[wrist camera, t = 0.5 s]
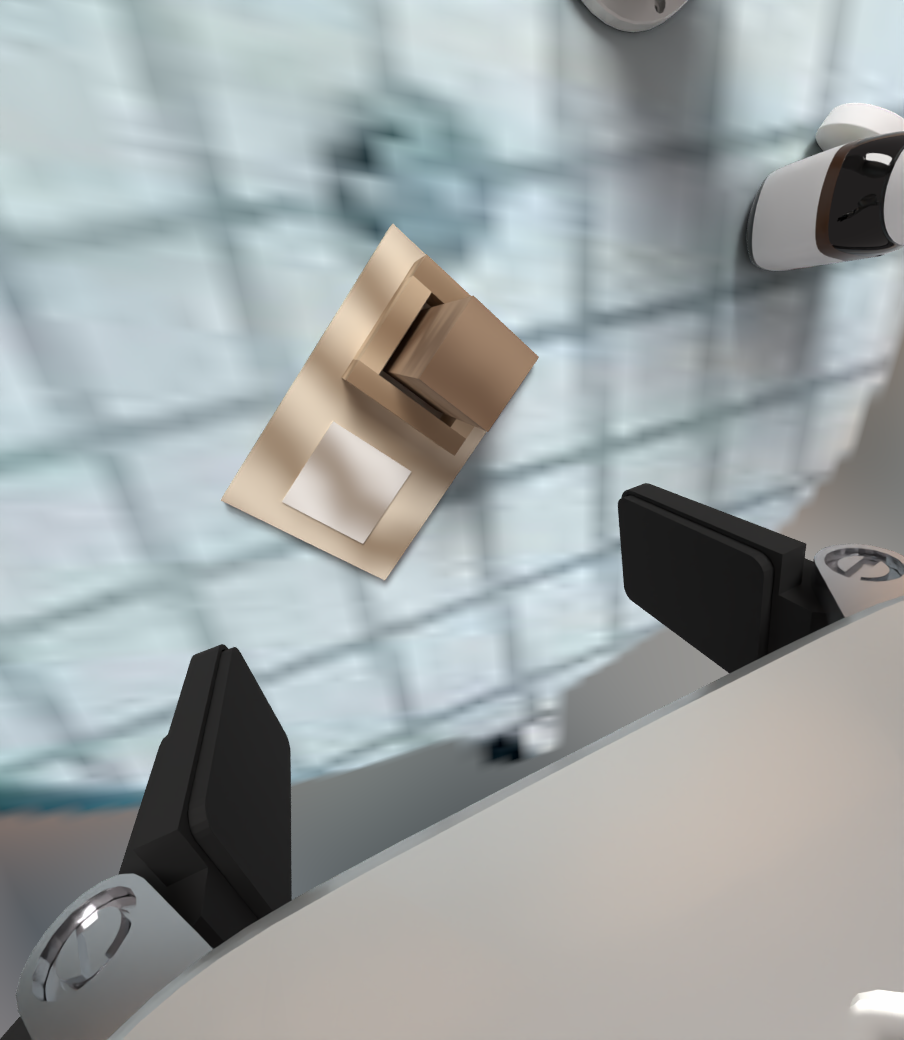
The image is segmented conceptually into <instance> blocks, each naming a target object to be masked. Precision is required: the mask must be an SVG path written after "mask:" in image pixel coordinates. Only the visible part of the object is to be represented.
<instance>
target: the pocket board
mask: <svg viewBox="0 0 904 1040" xmlns="http://www.w3.org/2000/svg"><path fill="white" fill-rule="evenodd" d="M466 297H470V295H469V294H468V293H467V292H466V291H465V290H464V289H463V288H462V287H461V286H460V285H459V284H458V283H457V282H455V281H454V280H453V279H452V278H451V277H450V276H449V275H448V274H447V273H446V272H445V271H444V270H443V269H442V268H441V267H439V266H438V265H437V264H436V263H435V262H434V261H433V260H432V259H431V258H430V257H429V256H428V255H427V254H425V253H424V252H422V251H421V250H420V249H419V248H418V247H417V246H416V245H415V244H414V243H413V242H412V241H411V240H410V239H409V238H408V237H406V236H405V235H404V234H403V233H402V232H401V231H400V230H399V229H398V228H397V227H396V226H395V225H394V224H392V225H391V226H390V228H389V229H388V231H387V232H386V234H385V236H384V237H383V239H382V240H381V242H380V244H379V245H378V247H377V249H376V250H375V252H374V253H373V255H372V257H371V258H370V260H369V261H368V263H367V265H366V266H365V268H364V269H363V271H362V273H361V274H360V276H359V278H358V279H357V281H356V282H355V284H354V286H353V287H352V289H351V290H350V292H349V294H348V295H347V297H346V298H345V300H344V302H343V303H342V305H341V307H340V308H339V310H338V311H337V313H336V315H335V316H334V318H333V319H332V321H331V323H330V324H329V326H328V327H327V329H326V331H325V332H324V334H323V336H322V337H321V339H320V340H319V342H318V344H317V345H316V347H315V348H314V350H313V352H312V353H311V355H310V356H309V358H308V360H307V361H306V363H305V365H304V366H303V368H302V369H301V371H300V373H299V374H298V376H297V377H296V379H295V381H294V382H293V384H292V385H291V387H290V389H289V390H288V392H287V393H286V395H285V397H284V398H283V400H282V402H281V403H280V405H279V406H278V408H277V410H276V411H275V413H274V414H273V416H272V418H271V419H270V421H269V422H268V424H267V426H266V427H265V429H264V431H263V432H262V434H261V435H260V437H259V439H258V440H257V442H256V443H255V445H254V447H253V448H252V450H251V451H250V453H249V455H248V456H247V458H246V460H245V461H244V463H243V464H242V466H241V468H240V469H239V471H238V472H237V474H236V476H235V477H234V479H233V480H232V482H231V484H230V485H229V487H228V489H227V490H226V492H225V493H224V495H223V497H222V499H221V501H223V502H225V503H227V504H229V505H231V506H233V507H235V508H238V509H240V510H242V511H244V512H246V513H248V514H250V515H252V516H254V517H256V518H258V519H260V520H262V521H264V522H266V523H268V524H270V525H272V526H274V527H276V528H278V529H280V530H283V531H285V532H287V533H289V534H291V535H293V536H295V537H297V538H299V539H301V540H303V541H305V542H307V543H309V544H311V545H313V546H315V547H317V548H319V549H321V550H323V551H326V552H328V553H330V554H332V555H334V556H336V557H338V558H340V559H342V560H344V561H346V562H348V563H350V564H352V565H354V566H356V567H358V568H360V569H362V570H364V571H366V572H368V573H371V574H373V575H375V576H377V577H379V578H381V579H383V580H386V578H387V577H388V575H389V574H390V572H391V571H392V569H393V568H394V566H395V565H396V564H397V562H398V561H399V559H400V558H401V556H402V555H403V553H404V552H405V550H406V549H407V547H408V546H409V545H410V543H411V542H412V540H413V539H414V537H415V536H416V534H417V533H418V531H419V530H420V528H421V527H422V525H423V524H424V523H425V521H426V520H427V518H428V517H429V515H430V514H431V512H432V511H433V509H434V508H435V506H436V505H437V504H438V502H439V501H440V499H441V498H442V496H443V495H444V493H445V492H446V490H447V489H448V487H449V486H450V484H451V483H452V482H453V480H454V479H455V477H456V476H457V474H458V473H459V471H460V470H461V468H462V467H463V465H464V464H465V463H466V461H467V460H468V458H469V457H470V455H471V454H472V452H473V451H474V449H475V448H476V446H477V445H478V443H479V442H480V441H481V439H482V438H483V436H484V435H485V433H486V432H487V431H485V430H482V429H480V428H477V427H475V426H473V425H470V424H468V423H465V422H463V421H461V420H458V419H456V418H453V417H451V416H449V415H446V414H444V413H441V412H439V411H437V410H435V409H434V408H433V407H431V406H430V405H428V404H427V403H426V402H424V401H423V400H422V399H420V398H419V397H418V396H416V395H415V394H414V393H412V392H411V391H410V390H408V389H407V388H406V387H404V386H403V385H402V384H400V383H399V382H398V381H396V380H395V379H394V378H392V377H391V376H390V375H388V374H387V373H385V372H384V371H383V369H384V368H385V366H386V364H387V363H388V361H389V360H390V358H391V357H392V355H393V354H394V352H395V350H396V349H397V347H398V346H399V344H400V343H401V341H402V340H403V338H404V336H405V335H406V333H407V332H408V330H409V329H410V327H411V326H412V324H413V322H414V321H415V319H416V318H417V316H418V315H419V313H420V312H421V310H424V309H427V308H431V307H434V306H438V305H441V304H445V303H449V302H452V301H456V300H459V299H463V298H466Z"/></svg>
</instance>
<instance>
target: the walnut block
mask: <svg viewBox="0 0 904 1040" xmlns="http://www.w3.org/2000/svg"><path fill="white" fill-rule="evenodd" d="M538 358H539V357H538V356H537V355H536V354H535V353H534V352H533V351H532V350H531V349H530V348H529V347H528V346H526V345H525V344H524V343H523V342H522V341H521V340H520V339H519V338H518V337H517V336H516V335H515V334H514V333H513V332H512V331H511V330H509V329H508V328H507V327H506V326H505V325H504V324H503V323H502V322H501V321H500V320H499V319H498V318H497V317H496V316H495V315H493V314H492V313H491V312H490V311H489V310H488V309H487V308H486V307H485V306H484V305H483V304H482V303H481V302H480V301H479V300H478V299H476V298H475V297H474V296H470V297H466V298H463V299H459V300H456V301H452V302H449V303H445V304H441V305H438V306H434V307H431V308H427V309H424V310H421V312H420V313H419V315H418V316H417V318H416V319H415V321H414V322H413V324H412V326H411V327H410V329H409V330H408V332H407V333H406V335H405V336H404V338H403V340H402V341H401V343H400V344H399V346H398V347H397V349H396V350H395V352H394V354H393V355H392V357H391V358H390V360H389V361H388V363H387V364H386V366H385V368H384V369H383V371H384V372H385V373H387V374H388V375H390V376H391V377H392V378H394V379H395V380H396V381H398V382H399V383H400V384H402V385H403V386H404V387H406V388H407V389H408V390H410V391H411V392H412V393H414V394H415V395H416V396H418V397H419V398H420V399H422V400H423V401H424V402H426V403H427V404H428V405H430V406H431V407H433V408H434V409H435V410H437V411H439V412H441V413H444V414H446V415H449V416H451V417H453V418H456V419H458V420H461V421H463V422H465V423H468V424H470V425H473V426H475V427H477V428H480V429H482V430H485V431H487V432H488V431H489V430H490V428H491V427H492V425H493V424H494V422H495V421H496V419H497V418H498V416H499V415H500V413H501V412H502V411H503V409H504V408H505V406H506V405H507V403H508V402H509V400H510V399H511V397H512V396H513V394H514V393H515V392H516V390H517V389H518V387H519V386H520V384H521V383H522V381H523V380H524V378H525V377H526V375H527V374H528V373H529V371H530V370H531V368H532V367H533V365H534V364H535V362H536V361H537V359H538Z"/></svg>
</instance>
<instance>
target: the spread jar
mask: <svg viewBox="0 0 904 1040" xmlns="http://www.w3.org/2000/svg"><path fill="white" fill-rule="evenodd" d="M816 140H817V143H818V145H819V146H820V148H821V149H822V150H823V151H824V152H821V153H818V154H816V155H813V156H810V157H807V158H804V159H802V160H799V161H796V162H794V163H791V164H789V165H786V166H784V167H781V168H779V169H778V170H776V171H774V172H772V173H771V174H770V175H769V176H768V177H767V178H766V179H765V180H764V181H763V183H762V184H761V186H760V188H759V190H758V192H757V194H756V196H755V199H754V202H753V204H752V207H751V211H750V214H749V218H748V223H747V249H748V254H749V257H750V260H751V262H752V263H753V264H754V265H755V266H756V267H758V268H760V269H763V270H767V271H785V270H793V269H800V268H807V267H813V266H820V265H826V264H832V263H839V262H846V261H852V260H859V259H865V258H871V257H878V256H881V255H884V254H887V253H890V252H893V251H895V250H898V249H900V248H902V247H903V246H904V119H903V118H902V117H900V116H899V115H897V114H896V113H894V112H891V111H889V110H887V109H884V108H882V107H878V106H875V105H871V104H864V103H848V104H843V105H840V106H838V107H836V108H834V109H833V110H832V111H831V112H830V113H829V115H828V116H827V118H826V119H825V120H824V122H823V123H822V125H821V126H820V127H819V129H818V130H817V133H816Z"/></svg>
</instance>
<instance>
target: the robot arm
mask: <svg viewBox="0 0 904 1040" xmlns="http://www.w3.org/2000/svg"><path fill="white" fill-rule="evenodd" d="M581 1H582V2H583V3H584V4H585V5H586V7H587V8H588V9H589V10H590V11H591V13H593V14H594V15H595V16H596V17H598V18H599V19H600V20H601V21H603V22H604V23H605V24H607V25H609V26H611V27H614V28H616V29H618V30H621V31H628V32H640V31H646V30H650V29H652V28H654V27H656V26H658V25H660V24H662V23H664V22H665V21H666V20H667V19H669V18H670V17H671V16H672V15H674V14H675V13H676V12H677V11H678V10H679V9H680V8H681V7H682V6H683V5H684V4H685V3H686V2H687V1H688V0H581ZM618 514H619V527H620V540H621V553H622V566H623V579H624V589H625V592H626V594H627V596H628V597H629V598H630V600H632V601H633V602H634V603H635V604H637V605H638V606H639V607H641V608H642V609H643V610H645V611H646V612H647V613H649V614H650V615H652V616H653V617H654V618H656V619H657V620H658V621H660V622H661V623H662V624H664V625H665V626H666V627H668V628H669V629H670V630H672V631H673V632H675V633H676V634H677V635H679V636H680V637H681V638H683V639H684V640H685V641H687V642H688V643H689V644H691V645H692V646H693V647H695V648H696V649H697V650H699V651H700V652H701V653H703V654H704V655H706V656H707V657H708V658H709V659H711V660H712V661H714V662H715V663H716V664H718V665H719V666H720V667H722V668H723V669H725V670H726V671H727V672H728V673H730V674H728V675H726V676H724V677H722V678H720V679H718V680H716V681H714V682H712V683H710V684H708V685H706V686H704V687H702V688H700V689H698V690H696V691H694V692H692V693H690V694H688V695H686V696H684V697H682V698H680V699H678V700H676V701H674V702H672V703H670V704H668V705H666V706H664V707H662V708H660V709H658V710H656V711H654V712H652V713H650V714H648V715H646V716H645V717H643V718H640V719H639V720H636V721H635V722H633V723H631V724H629V725H627V726H625V727H623V728H621V729H619V730H617V731H615V732H613V733H611V734H609V735H607V736H605V737H603V738H601V739H599V740H597V741H595V742H593V743H591V744H589V745H587V746H586V747H584V748H581V749H579V750H577V751H576V752H574V753H572V754H570V755H568V756H566V757H564V758H562V759H560V760H558V761H556V762H554V763H552V764H550V765H548V766H546V767H544V768H542V769H540V770H538V771H537V772H534V773H532V774H530V775H529V776H527V777H525V778H523V779H521V780H519V781H517V782H515V783H513V784H512V785H509V786H507V787H505V788H503V789H502V790H499V791H498V792H496V793H494V794H492V795H490V796H488V797H486V798H484V799H482V800H480V801H478V802H476V803H474V804H472V805H470V806H468V807H467V808H465V809H463V810H461V811H459V812H457V813H455V814H453V815H451V816H449V817H447V818H445V819H443V820H441V821H439V822H438V823H436V824H434V825H432V826H430V827H428V828H426V829H424V830H422V831H420V832H418V833H416V834H414V835H412V836H410V837H408V838H407V839H405V840H403V841H401V842H399V843H397V844H395V845H393V846H391V847H389V848H388V849H386V850H384V851H382V852H380V853H378V854H376V855H374V856H373V857H371V858H369V859H367V860H365V861H364V862H361V863H360V864H358V865H356V866H354V867H352V868H350V869H348V870H347V871H345V872H343V873H341V874H339V875H337V876H335V877H334V878H332V879H330V880H328V881H326V882H324V883H322V884H320V885H319V886H317V887H315V888H313V889H311V890H309V891H307V892H306V893H304V894H302V895H300V896H298V897H297V898H295V899H293V900H291V764H290V745H289V741H288V738H287V736H286V733H285V732H284V730H283V728H282V726H281V724H280V723H279V721H278V719H277V717H276V715H275V714H274V712H273V710H272V708H271V706H270V705H269V703H268V701H267V699H266V698H265V696H264V694H263V692H262V690H261V689H260V687H259V685H258V683H257V681H256V680H255V678H254V676H253V674H252V672H251V671H250V669H249V667H248V665H247V663H246V662H245V660H244V658H243V656H242V655H241V653H240V651H239V650H238V649H237V648H236V647H233V648H230V649H228V648H227V647H226V646H225V645H223V644H221V645H219V646H216V647H214V648H211V649H208V650H206V651H203V652H200V653H198V654H195V655H193V656H192V658H191V661H190V664H189V668H188V671H187V674H186V677H185V681H184V684H183V687H182V690H181V694H180V697H179V700H178V703H177V707H176V710H175V713H174V717H173V720H172V723H171V726H170V730H169V733H168V735H167V736H166V737H165V738H164V739H163V740H162V742H161V744H160V746H159V749H158V752H157V755H156V759H155V762H154V765H153V768H152V771H151V774H150V777H149V781H148V784H147V787H146V790H145V793H144V796H143V799H142V802H141V806H140V809H139V812H138V815H137V818H136V821H135V824H134V828H133V831H132V834H131V837H130V840H129V843H128V846H127V850H126V853H125V856H124V859H123V862H122V865H121V868H120V871H119V874H118V875H117V876H114V877H112V878H109V879H107V880H104V881H102V882H100V883H99V884H97V885H96V886H94V887H93V888H91V889H89V890H88V891H86V892H85V893H84V894H83V895H81V896H80V897H79V898H78V899H77V900H75V901H74V902H73V903H72V904H71V905H70V906H69V907H67V908H66V909H65V910H64V911H63V913H62V914H61V915H60V916H59V917H58V918H57V919H56V920H55V921H54V922H53V924H52V925H51V926H50V927H49V928H48V929H47V931H46V932H45V933H44V935H43V936H42V938H41V939H40V941H39V942H38V944H37V945H36V947H35V948H34V949H33V951H32V952H31V954H30V957H29V959H28V961H27V963H26V965H25V967H24V969H23V971H22V973H21V976H20V980H19V984H18V988H17V992H16V1001H17V1008H18V1012H19V1014H20V1017H19V1018H18V1019H17V1020H16V1022H15V1023H14V1024H13V1025H12V1026H11V1027H10V1028H9V1030H8V1031H7V1032H6V1033H5V1034H4V1035H3V1037H2V1038H1V1039H0V1040H904V556H903V555H901V554H898V553H896V552H894V551H890V550H887V549H884V548H880V547H876V546H870V545H864V544H840V545H833V546H829V547H825V548H823V549H822V550H820V551H818V552H817V553H816V555H815V557H814V562H813V561H810V560H808V559H805V550H806V544H805V543H803V542H800V541H798V540H795V539H792V538H789V537H787V536H784V535H782V534H779V533H777V532H774V531H771V530H769V529H766V528H764V527H761V526H758V525H756V524H753V523H750V522H748V521H745V520H743V519H740V518H737V517H735V516H732V515H730V514H727V513H724V512H722V511H719V510H716V509H714V508H711V507H709V506H706V505H703V504H701V503H698V502H696V501H693V500H690V499H688V498H685V497H682V496H680V495H677V494H675V493H672V492H669V491H667V490H664V489H662V488H659V487H656V486H654V485H651V484H647V483H645V484H642V485H639V486H637V487H634V488H631V489H629V490H626V491H625V492H624V493H623V494H622V498H621V499H620V500H619V502H618Z"/></svg>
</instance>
